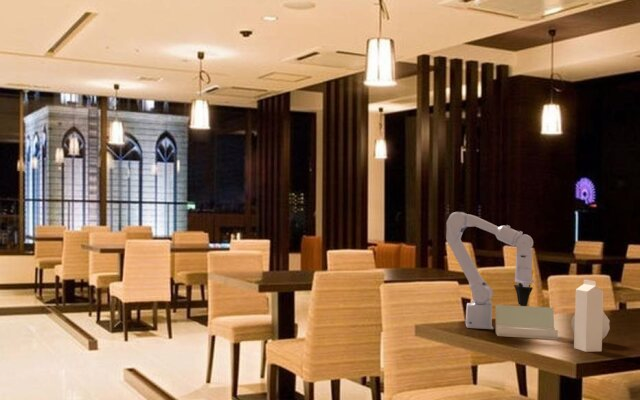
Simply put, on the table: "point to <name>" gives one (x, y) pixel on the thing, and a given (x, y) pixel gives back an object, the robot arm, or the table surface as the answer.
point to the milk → (588, 317)
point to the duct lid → (524, 316)
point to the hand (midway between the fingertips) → (522, 305)
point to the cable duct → (526, 331)
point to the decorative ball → (604, 326)
